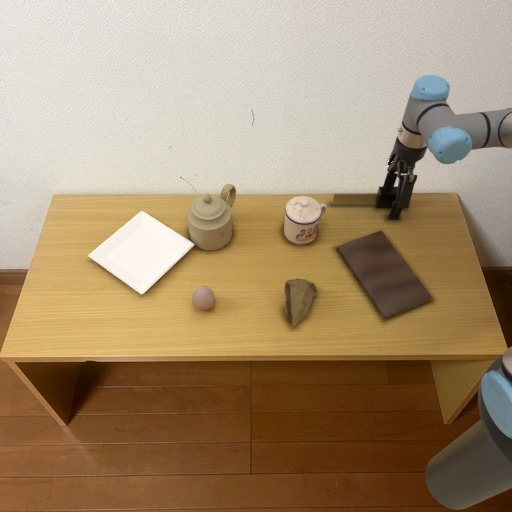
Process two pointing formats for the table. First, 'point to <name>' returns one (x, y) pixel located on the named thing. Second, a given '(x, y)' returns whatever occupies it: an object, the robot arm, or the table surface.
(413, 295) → the cutting board
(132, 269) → the plate
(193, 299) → the egg
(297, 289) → the rock
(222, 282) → the table surface
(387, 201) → the knife
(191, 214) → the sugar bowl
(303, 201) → the teacup with lid
